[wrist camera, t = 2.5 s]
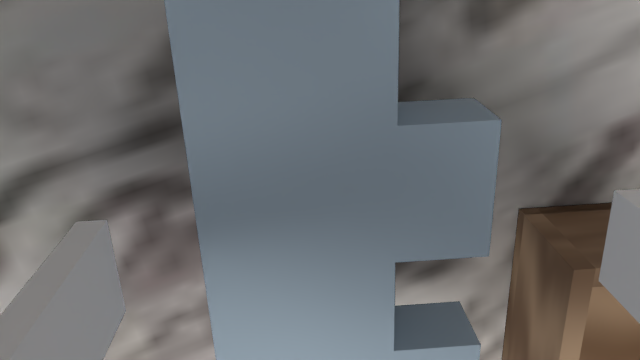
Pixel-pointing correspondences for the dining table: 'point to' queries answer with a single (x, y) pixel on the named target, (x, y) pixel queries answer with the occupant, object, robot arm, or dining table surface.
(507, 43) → the dining table surface
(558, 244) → the carcass
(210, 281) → the door
